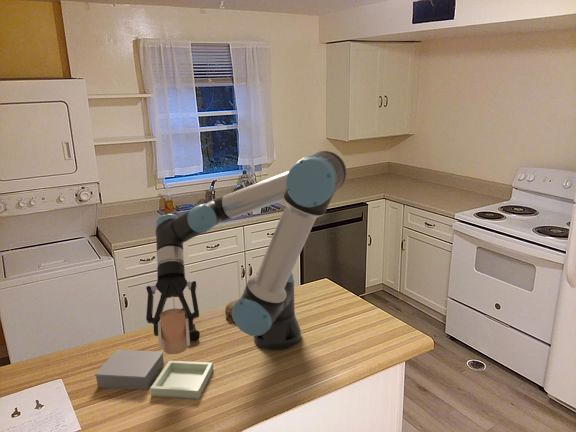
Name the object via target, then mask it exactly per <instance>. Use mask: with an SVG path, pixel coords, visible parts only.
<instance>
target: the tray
mask: <svg viewBox="0 0 576 432" xmlns="http://www.w3.org/2000/svg"><path fill="white" fill-rule="evenodd" d="M213 372H214V362H207V361H206V362H205V361H204V362H203V361H187V360H186V361H185V360H183V361H182V360H168V362H167V363H166V364H165V366H163V368H162V369H161V372H159V373H160V374H159V375H158V376H157V378H156V379H155V381H154V382H152V383H153V384H152V385H151V387H150V388H149V389H150V396H151V397H152V398H153V397H154V398H171V399H187V400H199V399H200V398H201V396H202V394H203V392H204V390H205V388H206V385H207V384H208V382H209V380H210V379H211V376H212V374H213Z"/></svg>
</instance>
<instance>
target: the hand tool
mask: <svg viewBox="0 0 576 432" xmlns="http://www.w3.org/2000/svg"><path fill="white" fill-rule="evenodd" d="M181 309H182V310H184V308H183V307H181ZM184 312H185V311H184ZM185 319H187V315H186V313H185ZM200 333H201V332H200V331H199V330H197V329H196V324H195V323H193V332H189V335H190V343H195V342H197V341H199V340H200Z"/></svg>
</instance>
